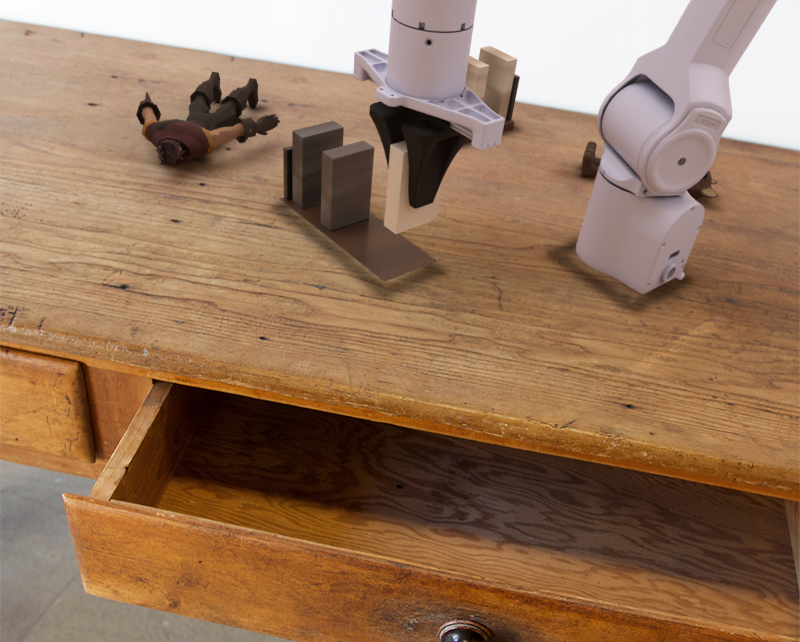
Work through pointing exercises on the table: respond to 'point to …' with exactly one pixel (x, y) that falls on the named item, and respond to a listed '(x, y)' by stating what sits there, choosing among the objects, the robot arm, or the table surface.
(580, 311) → the table surface
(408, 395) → the table surface
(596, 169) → the bear figurine
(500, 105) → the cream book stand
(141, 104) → the figurine
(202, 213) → the table surface
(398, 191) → the cream wooden block
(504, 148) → the table surface
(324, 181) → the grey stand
